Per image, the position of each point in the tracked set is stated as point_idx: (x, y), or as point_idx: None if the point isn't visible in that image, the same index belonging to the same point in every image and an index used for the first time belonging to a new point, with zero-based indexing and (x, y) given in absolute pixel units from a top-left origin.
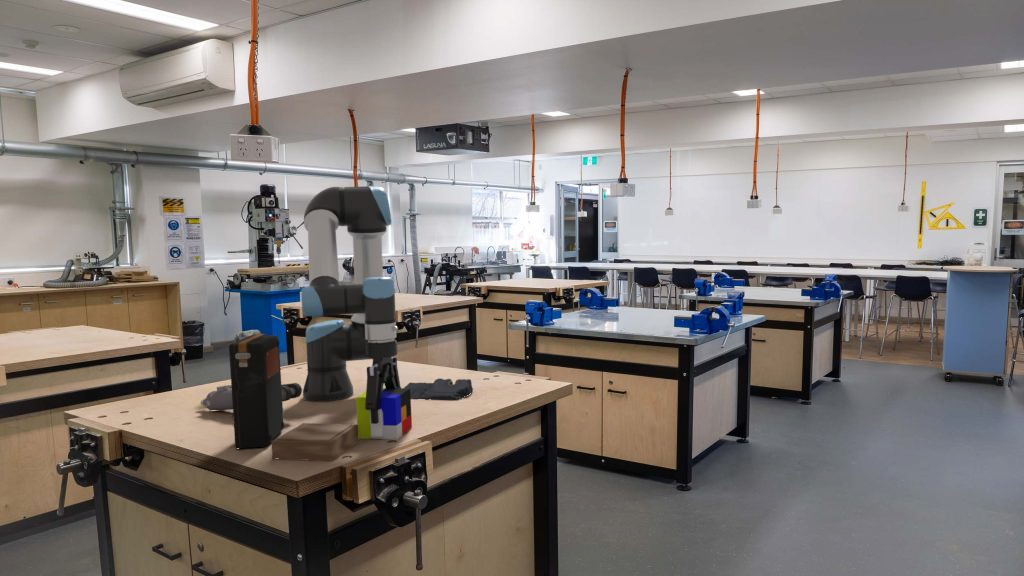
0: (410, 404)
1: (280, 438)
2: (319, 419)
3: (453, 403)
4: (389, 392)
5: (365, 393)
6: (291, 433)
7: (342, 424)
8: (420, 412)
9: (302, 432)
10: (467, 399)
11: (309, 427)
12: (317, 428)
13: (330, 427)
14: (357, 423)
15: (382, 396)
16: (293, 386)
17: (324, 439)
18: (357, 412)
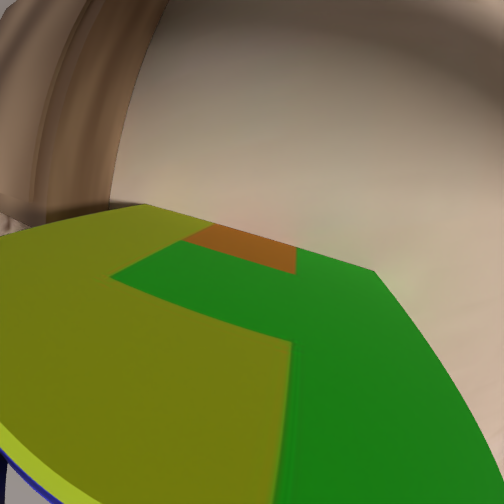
0: None
1: (2, 18)
2: (489, 6)
3: (494, 453)
4: None
5: (5, 437)
6: (22, 7)
7: (34, 140)
8: (482, 413)
9: (13, 32)
10: (498, 462)
11: (51, 6)
12: (26, 49)
13: (15, 101)
14: (90, 215)
15: (22, 475)
16: None
17: None
18: (28, 235)
